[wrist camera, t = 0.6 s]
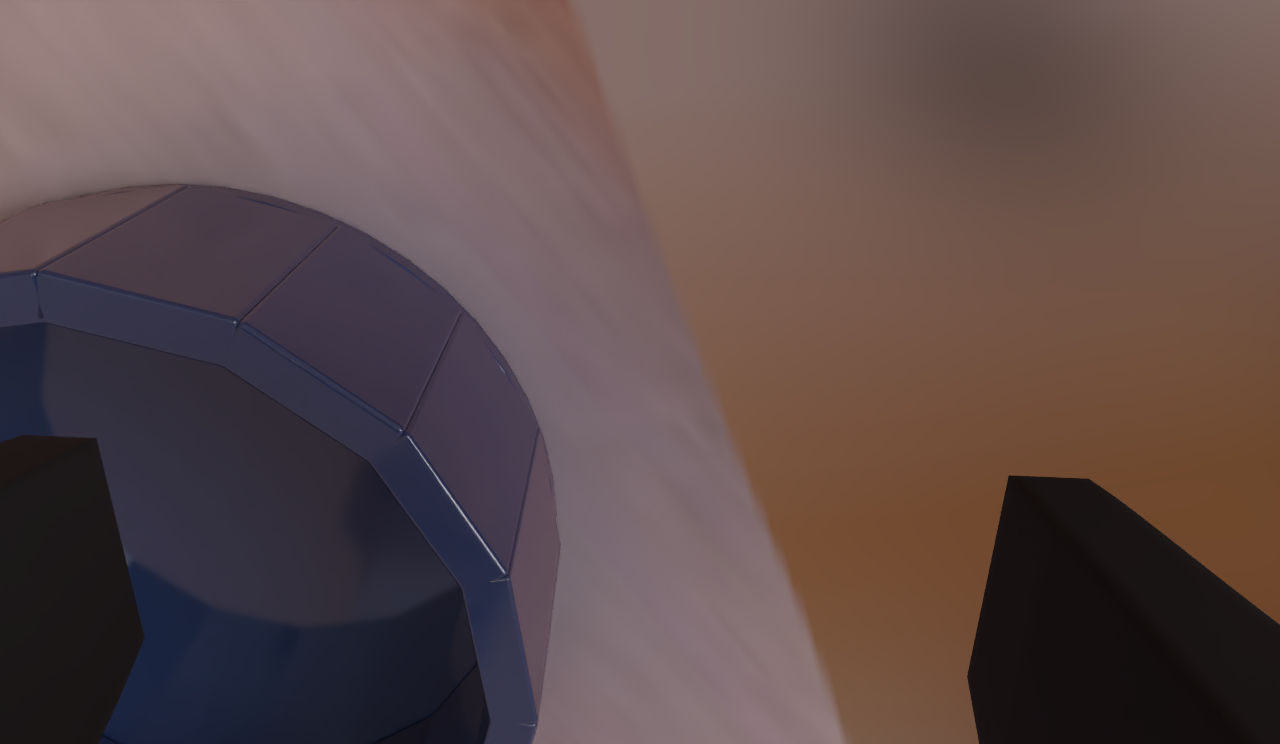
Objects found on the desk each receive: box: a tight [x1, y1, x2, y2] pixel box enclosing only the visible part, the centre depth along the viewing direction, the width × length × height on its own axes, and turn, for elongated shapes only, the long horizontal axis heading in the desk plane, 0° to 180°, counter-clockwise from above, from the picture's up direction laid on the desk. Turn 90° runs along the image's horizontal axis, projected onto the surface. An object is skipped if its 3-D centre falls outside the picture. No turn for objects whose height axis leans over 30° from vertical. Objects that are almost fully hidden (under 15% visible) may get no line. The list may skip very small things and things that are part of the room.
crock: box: [0, 184, 561, 744], centre depth 18 cm, size 12×12×6 cm
